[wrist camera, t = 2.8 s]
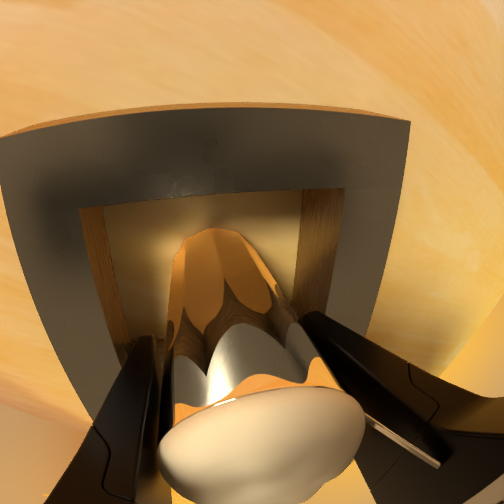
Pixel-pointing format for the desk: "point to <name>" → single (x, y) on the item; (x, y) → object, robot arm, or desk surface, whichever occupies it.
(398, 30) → the desk surface
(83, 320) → the collar
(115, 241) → the desk surface
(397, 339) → the desk surface
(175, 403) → the milkshake
